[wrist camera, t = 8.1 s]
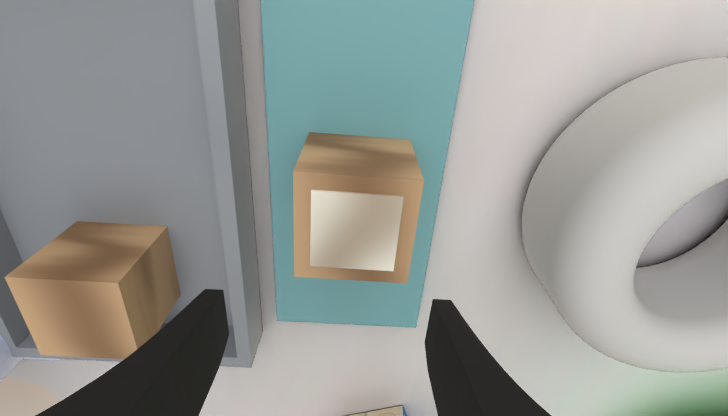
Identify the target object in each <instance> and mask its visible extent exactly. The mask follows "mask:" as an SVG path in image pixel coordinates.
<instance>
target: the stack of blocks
mask: <svg viewBox="0 0 728 416" xmlns="http://www.w3.org/2000/svg"><path fill="white" fill-rule="evenodd" d="M349 416H407V415H406V412H405V410H404V408H403V406H397V407H392V408H386V409H381V410H376V411H371V412H367V413H359V414H354V415H349Z"/></svg>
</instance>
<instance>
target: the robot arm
mask: <svg viewBox="0 0 728 416" xmlns="http://www.w3.org/2000/svg"><path fill="white" fill-rule="evenodd" d="M228 337H229V328H228V320H227V313H226V306H225V299H224V291H223V290H219V289H205V290H203V291H202V292H201V293H200V294H199V295H198V296H197V297H196V298H195V299H193V300H192V301H191V302H190V303H189V304H188V305H187V306H186V307H185V308H184V309H183V310H182V311H181V312H180V313H178V314H177V315H176V316H175V317H174V318H173V319H172V320H171V321H170V322H169V323H167V324H166V325H165V326H164V327H163V328H162V329H161V330H160V331H158V332H157V333H156V334H155V335H154V336H153V337H151V338H150V339H149V340H148V341H147V342H145V343H144V344H143V345H142V346H140V347H139V348H138V349H137V350H136V351H134V352H133V353H132V354H131V355H129V356H128V357H127V358H125V359H124V360H123V361H121V362H120V363H119V364H117V365H116V366H114V367H113V368H112V369H110V370H109V371H107V372H106V373H105V374H103V375H102V376H100V377H99V378H97V379H96V380H94V381H93V382H91V383H89V384H88V385H86V386H85V387H83V388H81V389H80V390H78V391H77V392H75V393H73V394H72V395H70V396H69V397H67V398H65V399H64V400H62V401H60V402H59V403H57V404H55V405H54V406H52V407H50V408H48V409H47V410H45V411H43V412H41V413H39V414H38V415H36V416H198V415H199V413H200V411H201V408H202V406H203V404H204V401H205V399H206V397H207V394H208V392H209V390H210V387H211V385H212V383H213V380H214V378H215V376H216V373H217V371H218V369H219V366H220V364H221V361H222V358H223V354H224V351H225V347H226V344H227V340H228ZM425 349H426V358H427V367H428V373H429V378H430V382H431V387H432V391H433V395H434V400H435V404H436V408H437V413H438V416H551V415H550V414H549V413H547V412H546V411H545V410H544V409H543V408H542V407H541V406H539V405H538V404H537V403H536V402H535V401H534V400H533V399H532V398H531V397H530V396H529V395H528V394H527V393H526V392H525V391H524V390H523V389H522V388H521V387H520V386H519V385H518V384H517V383H516V382H515V381H514V380H513V379H512V378H511V377H510V376H509V375H508V374H507V373H506V372H505V371H504V369H503V368H502V367H501V366H500V365H499V364H498V362H497V361H496V360H495V359H494V358H493V357H492V355H491V354H490V353H489V352H488V350H487V349H486V348H485V347H484V345H483V344H482V343H481V342H480V340H479V339H478V338H477V336H476V335H475V334H474V332H473V331H472V330H471V328H470V327H469V325H468V324H467V323H466V321H465V320H464V318H463V317H462V316H461V314H460V313H459V311H458V310H457V308H456V307H455V305H454V304H453V303H452V301H451V300H438V299H433V301H432V307H431V312H430V317H429V322H428V328H427V333H426V338H425ZM22 359H37V360H61V359H53V358H31V357H12V353H11V351H10V348H9V346H8V345H7V343H6V342H5V340H4V339H3V337H2V336H1V335H0V382H1V381H2V380H3V379H4V378H5V377H6V376H7V375H8V374H9V373H10V372H11V370H12V369H13V368H14V367H15V366H16V365H17V364H18V363H19V362H20V361H21V360H22Z"/></svg>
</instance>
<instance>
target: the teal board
mask: <svg viewBox="0 0 728 416" xmlns="http://www.w3.org/2000/svg"><path fill="white" fill-rule="evenodd" d="M473 4H474V0H261V17H262V37H263V57H264V76H265V96H266V115H267V135H268V154H269V174H270V193H271V213H272V232H273V252H274V271H275V291H276V310H277V321H294V322H314V323H334V324H354V325H375V326H395V327H415V328H416V325H417V319H418V313H419V308H420V302H421V297H422V291H423V285H424V280H425V274H426V268H427V263H428V257H429V252H430V246H431V240H432V235H433V229H434V223H435V218H436V212H437V207H438V201H439V195H440V190H441V184H442V178H443V173H444V167H445V162H446V156H447V150H448V145H449V139H450V133H451V128H452V122H453V117H454V111H455V105H456V100H457V94H458V89H459V83H460V77H461V72H462V66H463V60H464V55H465V49H466V44H467V38H468V32H469V27H470V21H471V15H472V10H473ZM309 132H316V133H330V134H343V135H357V136H370V137H384V138H397V139H410V140H411V143H412V146H413V149H414V152H415V155H416V158H417V161H418V164H419V167H420V170H421V173H422V176H423V179H424V184H423V190H422V197H421V203H420V209H419V215H418V221H417V227H416V233H415V239H414V245H413V251H412V258H411V264H410V270H409V276H408V282H407V284H406V283H389V282H373V281H356V280H340V279H323V278H307V277H294V216H293V170H294V168H295V166H296V163H297V161H298V158H299V156H300V153H301V151H302V149H303V146H304V144H305V141H306V139H307V136H308V134H309Z"/></svg>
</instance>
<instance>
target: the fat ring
mask: <svg viewBox="0 0 728 416" xmlns="http://www.w3.org/2000/svg"><path fill="white" fill-rule="evenodd" d="M726 179H728V57H715V58H704V59H697V60H691V61H686V62H681V63H677V64H673V65H670V66H666V67H663V68H660V69H657V70H655V71H652V72H649V73H647V74H644V75H642V76H640V77H637V78H635V79H633V80H631V81H629V82H627V83H625V84H623V85H622V86H620V87H618V88H616V89H615V90H613V91H611V92H610V93H608V94H607V95H605V96H604V97H602V98H601V99H599V100H598V101H596V102H595V103H594V104H592V105H591V106H590V107H589V108H587V109H586V110H585V111H584V112H583V113H581V114H580V115H579V116H578V117H577V118H576V119H575V120H574V121H573V122H572V123H571V124H570V125H569V126H568V127H567V128H566V129H565V130H564V131H563V132H562V133H561V134H560V135H559V137H558V138H557V139H556V140H555V142H554V143H553V144H552V145H551V147H550V148H549V150H548V151H547V152H546V154H545V155H544V157H543V159H542V160H541V162H540V164H539V165H538V167H537V169H536V171H535V173H534V175H533V178H532V180H531V182H530V185H529V188H528V191H527V194H526V197H525V201H524V206H523V213H522V239H523V245H524V249H525V252H526V256H527V258H528V261H529V263H530V265H531V267H532V269H533V271H534V273H535V274H536V276H537V277H538V279H539V281H540V282H541V284H542V285H543V287H544V289H545V290H546V292H547V293H548V295H549V297H550V298H551V300H552V301H553V303H554V305H555V306H556V308H557V309H558V311H559V313H560V314H561V316H562V317H563V319H564V320H565V322H566V323H567V324H568V326H569V327H570V328H571V329H572V330H573V331H574V332H575V333H576V334H577V335H578V336H579V337H580V338H581V339H582V340H583V341H585V342H586V343H587V344H589V345H590V346H591V347H593V348H594V349H596V350H597V351H599V352H601V353H603V354H604V355H606V356H608V357H611V358H613V359H615V360H617V361H620V362H623V363H626V364H629V365H632V366H636V367H640V368H644V369H650V370H656V371H665V372H702V371H711V370H719V369H725V368H728V219H727V220H726V221H725V222H724V223H723V225H722V226H721V227H720V228H719V229H718V230H717V231H715V232H714V233H713V234H712V235H711V236H710V237H709V238H707V239H706V240H705V241H703V242H702V243H701V244H699V245H698V246H696V247H695V248H693V249H691V250H690V251H688V252H686V253H684V254H682V255H680V256H678V257H676V258H674V259H671V260H669V261H666V262H663V263H660V264H656V265H652V266H646V267H639V268H636V266H637V263H638V261H639V258H640V256H641V254H642V252H643V251H644V249H645V247H646V246H647V244H648V242H649V241H650V240H651V238H652V237H653V236H654V234H655V233H656V232H657V231H658V229H659V228H660V227H661V226H662V225H663V224H664V223H665V222H666V221H667V220H668V219H669V218H670V217H671V216H672V215H673V214H674V213H675V212H676V211H678V210H679V209H680V208H681V207H682V206H684V205H685V204H686V203H688V202H689V201H690V200H692V199H693V198H695V197H696V196H698V195H699V194H701V193H702V192H704V191H705V190H707V189H709V188H711V187H712V186H714V185H716V184H718V183H720V182H722V181H724V180H726Z"/></svg>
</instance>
